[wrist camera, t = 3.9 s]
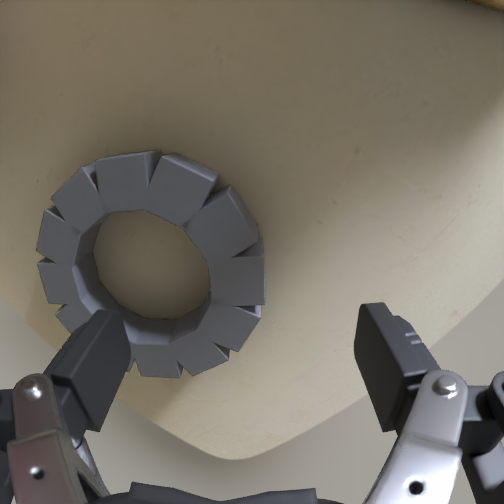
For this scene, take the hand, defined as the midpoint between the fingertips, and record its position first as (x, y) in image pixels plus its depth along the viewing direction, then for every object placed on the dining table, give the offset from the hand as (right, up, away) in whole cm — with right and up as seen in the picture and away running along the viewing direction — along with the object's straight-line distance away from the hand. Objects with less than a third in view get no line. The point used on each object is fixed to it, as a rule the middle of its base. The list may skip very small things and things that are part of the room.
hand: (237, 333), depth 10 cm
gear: (-5, +2, +6) cm, 8 cm away
